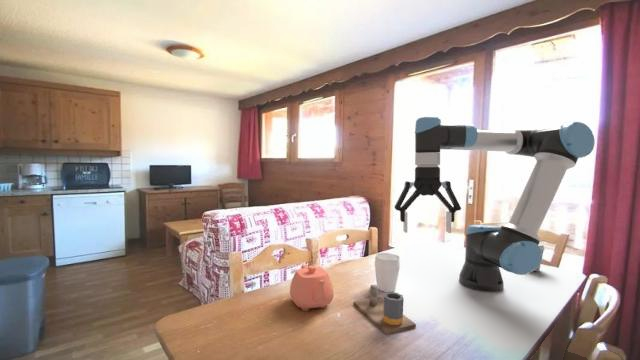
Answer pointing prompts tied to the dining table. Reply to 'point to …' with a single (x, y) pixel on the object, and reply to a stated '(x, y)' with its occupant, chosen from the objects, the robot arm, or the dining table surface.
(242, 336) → the dining table surface
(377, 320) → the pin board
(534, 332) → the dining table surface
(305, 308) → the teapot
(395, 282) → the cup
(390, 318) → the sleeve
